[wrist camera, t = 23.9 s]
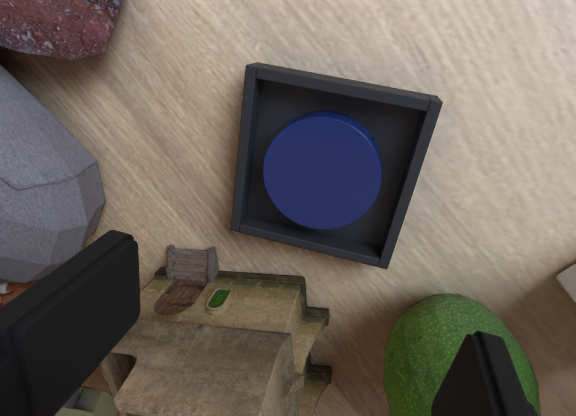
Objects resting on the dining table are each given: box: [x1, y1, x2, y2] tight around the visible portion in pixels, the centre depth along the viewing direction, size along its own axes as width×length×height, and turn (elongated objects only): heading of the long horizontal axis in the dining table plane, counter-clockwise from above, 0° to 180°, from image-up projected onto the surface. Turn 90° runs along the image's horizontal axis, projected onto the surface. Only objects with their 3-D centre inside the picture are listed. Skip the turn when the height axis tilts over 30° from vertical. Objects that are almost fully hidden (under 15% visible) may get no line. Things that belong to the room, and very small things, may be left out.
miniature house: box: [100, 245, 332, 416], centre depth 25 cm, size 15×14×11 cm
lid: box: [263, 109, 383, 230], centre depth 22 cm, size 7×7×2 cm
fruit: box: [384, 294, 541, 416], centre depth 20 cm, size 8×8×12 cm
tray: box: [231, 62, 443, 269], centre depth 22 cm, size 10×10×2 cm
